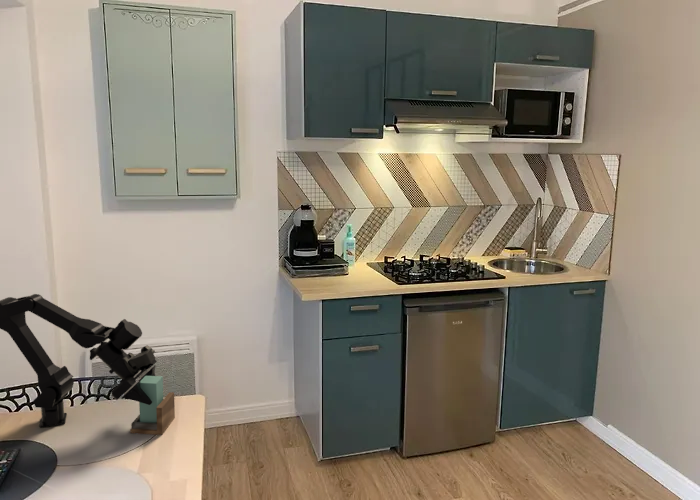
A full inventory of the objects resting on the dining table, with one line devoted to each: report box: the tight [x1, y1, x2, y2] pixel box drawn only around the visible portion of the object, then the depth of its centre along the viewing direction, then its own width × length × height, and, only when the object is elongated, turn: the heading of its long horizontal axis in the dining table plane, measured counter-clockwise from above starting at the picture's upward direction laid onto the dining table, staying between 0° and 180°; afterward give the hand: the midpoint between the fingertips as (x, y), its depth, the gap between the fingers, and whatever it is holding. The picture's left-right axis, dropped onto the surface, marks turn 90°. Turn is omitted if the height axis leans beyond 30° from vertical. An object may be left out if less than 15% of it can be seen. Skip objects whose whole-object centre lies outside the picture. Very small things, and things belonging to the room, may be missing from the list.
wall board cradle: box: [130, 391, 176, 436], centre depth 156 cm, size 9×10×8 cm
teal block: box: [138, 375, 164, 423], centre depth 155 cm, size 5×5×13 cm
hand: (156, 397), depth 155 cm, fingers open, 7 cm apart
